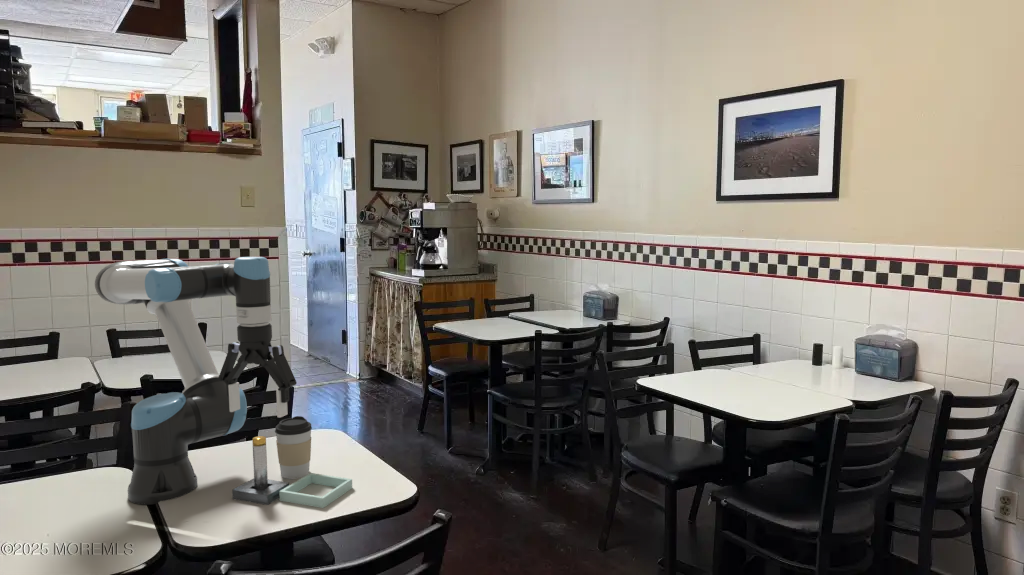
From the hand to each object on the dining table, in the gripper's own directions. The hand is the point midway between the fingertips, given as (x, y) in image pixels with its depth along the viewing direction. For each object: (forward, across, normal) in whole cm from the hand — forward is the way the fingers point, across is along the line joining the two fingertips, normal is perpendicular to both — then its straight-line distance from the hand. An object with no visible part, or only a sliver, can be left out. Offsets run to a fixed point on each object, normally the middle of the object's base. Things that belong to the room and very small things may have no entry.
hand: (258, 413), depth 161 cm
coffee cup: (+21, -1, +14) cm, 25 cm away
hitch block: (+21, 0, 0) cm, 21 cm away
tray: (+21, +12, +5) cm, 24 cm away
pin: (+20, 0, 0) cm, 20 cm away
